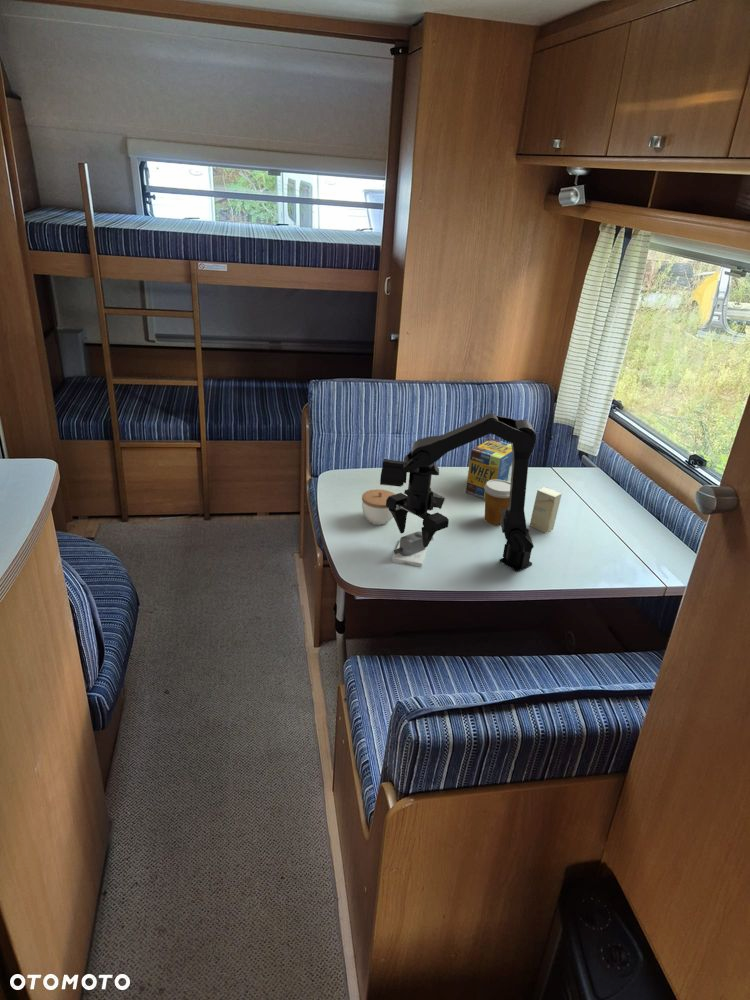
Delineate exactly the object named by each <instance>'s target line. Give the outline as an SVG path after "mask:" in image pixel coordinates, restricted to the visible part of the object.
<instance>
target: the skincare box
mask: <svg viewBox="0 0 750 1000" xmlns="http://www.w3.org/2000/svg"><path fill="white" fill-rule="evenodd" d="M536 491H537V492H536V495H535V499H534V504H533V509H532V513H531V516H530V517H531V518H530V522H529V526H530V527H532V528H534V529H536V530H539V531H541V532H543V533H545V532H546V533H549V532H551V531H552V530H554V528H555V524H556V520H557V515H558V512H559V506H560V502H561V499H562V495H563V493H562V492H559V491H557V490H554V489H552V488H549V487H547V486H543V487H540V488H538V489H537V490H536Z"/></svg>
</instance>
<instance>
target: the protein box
mask: <svg viewBox="0 0 750 1000" xmlns="http://www.w3.org/2000/svg"><path fill="white" fill-rule="evenodd" d="M512 460H513V453H512V446H511V443H510V442H505V441H501V440H498V439H494V438H490V439H488V440H487V441H484V442H483V443H481V444H479V445H478V446H476V447H475V448H473V449H471V451H470V457H469V465H468V471H467V478H466V487H465V494H469V495H472V496H474V497H477V498H479V499H484V500H485V489H484V486H485V485H486V483H487V482H488V481H489V480H495V479H496V480H505V481H508V482H510V483H511V473H512Z"/></svg>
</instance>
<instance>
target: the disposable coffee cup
mask: <svg viewBox="0 0 750 1000" xmlns="http://www.w3.org/2000/svg"><path fill="white" fill-rule="evenodd" d="M510 485H511V483H510V482H508V481H505V480H496V479H495V480H489V481H488V482H487V483H486V485H485V486H484V489H485V499H484V522H486V523H487V524H489V525H492V526H501V524H500V520H501V518H502V512H501V509H504V510H507V507H508V505H509V497H510Z"/></svg>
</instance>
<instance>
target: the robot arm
mask: <svg viewBox="0 0 750 1000" xmlns="http://www.w3.org/2000/svg"><path fill="white" fill-rule="evenodd" d="M490 434H491V435H493V436H496V437H498V438H500V439H502V440H504V442H505V441H506V442H507V443H509V444H511V446H512V453H513V460H512V473H511V485H510V497H509V505H508V507H507V510H504V509H501V512H502V518H501V520H500V524H501V525H500V528H501V532H502V534H504V538H505V540H506V542H505V544H504V546H503V552H502V558H500V559H499V562H500V563H502V564H503V565H505V566H507V567H508V568H511V569H512V570H514V571H516V572H520V571H522V570H525V569H526V568H529V567H530V566H533V562H531V561H530V559H531V555H532V549H533V548H534V543H533V539H532V536H531V532H530V529H528V527H527V522H526V521H527V519H526V515H525V513H526V512H525V504H526V503H525V502H526V493H527V492H526V491H527V483H528V473H529V472H528V471H529V462H530V458H531V456H532V454H533V452H534V449H535V446H536V441H537V434H536V431H535V430H534V427H533V425H532V423H531V422H530V421H528V420H526V419H518V420H517V419H514V418H511V417H508V416H507V417H506V416H501V415H500V416H499V415H497V414H495V413H486V414H485V415H484V416H483V417H479V418H478V419H475V420H473V421H471V422H469V423H467V424H464V425H462V426H459V427H458V428H455V429H453V430H450V431H447V432H446V433H444V434H439V435H432V436H427V437H423V438H419V439H417V440H416V441H414V442H413V444H412V447H411V450H410V451H409V452H408V453H406V456H404V457H403V460H396V459H395V460H394V459H390V458H383V459H382V467H381V472H380V480H379V484H380V486H390V487H399V488H400V487H404V484H407V478H408V487H407V488H408V489H407V488H406V489H404V490H403V491H404V493H402V492H399V493H394V494H395V495H392V496H389V497H388V498H387V500H386V507H388V508H389V511H390V512H391V513H392V515H393V519H394V522H395V523H396V526H397V528H398V530H399V533H400V534H402V535H403V534H404V533H405V529H406V524H407V517H408V513H410V514H412V515H415V516H417V517H418V518H420V519H422V526H421V532H422V539H423V546H424V547H427V546H428V544H429V545H430V542H432V541H431V539H432V537H434V535H435V534H436V533H437V532H439V531H441V530H444V529H447V528H448V527H449V523H450V522H449V521H450V519H449V517H447V516H445V515H443V514H442V513H439V512H435V513H429V512H428V511H433V510H434V508H437V509H438V510H439V509H440V510H441V509H442V508H443V505H444V502H445V501H446V498H445V497H444V496H442V495H440V494H439V493H436V492H433V490H432V488H431V485H432V484H431V482H432V476H439V475H440V468H439V467H438V466H436V464H435V463H436V462H437V461H439V460H440V459H441V458H442V457H443V456H445V455H446V454H447V453H449V452H451V451H453V450H455V449H457V448H460V447H462V446H464V445H467V444H469V443H472V442H473V441H476V440H478V439H480V438H483V437H486V436H488V435H490ZM408 473H409V475H408ZM407 476H408V477H407ZM428 547H429V546H428Z"/></svg>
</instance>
